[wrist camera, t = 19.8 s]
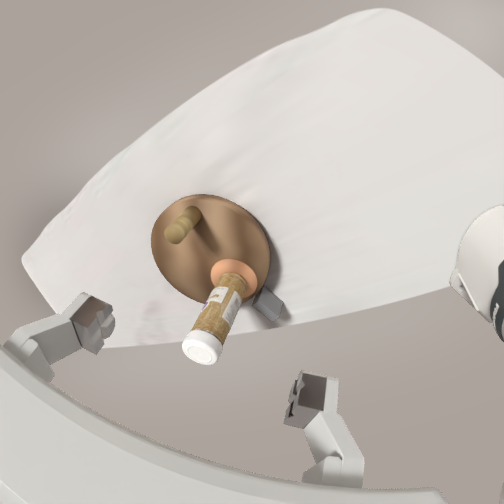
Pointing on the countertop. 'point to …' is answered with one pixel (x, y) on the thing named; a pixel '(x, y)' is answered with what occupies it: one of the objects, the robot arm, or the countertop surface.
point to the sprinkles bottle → (215, 320)
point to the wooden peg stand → (209, 246)
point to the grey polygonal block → (268, 304)
